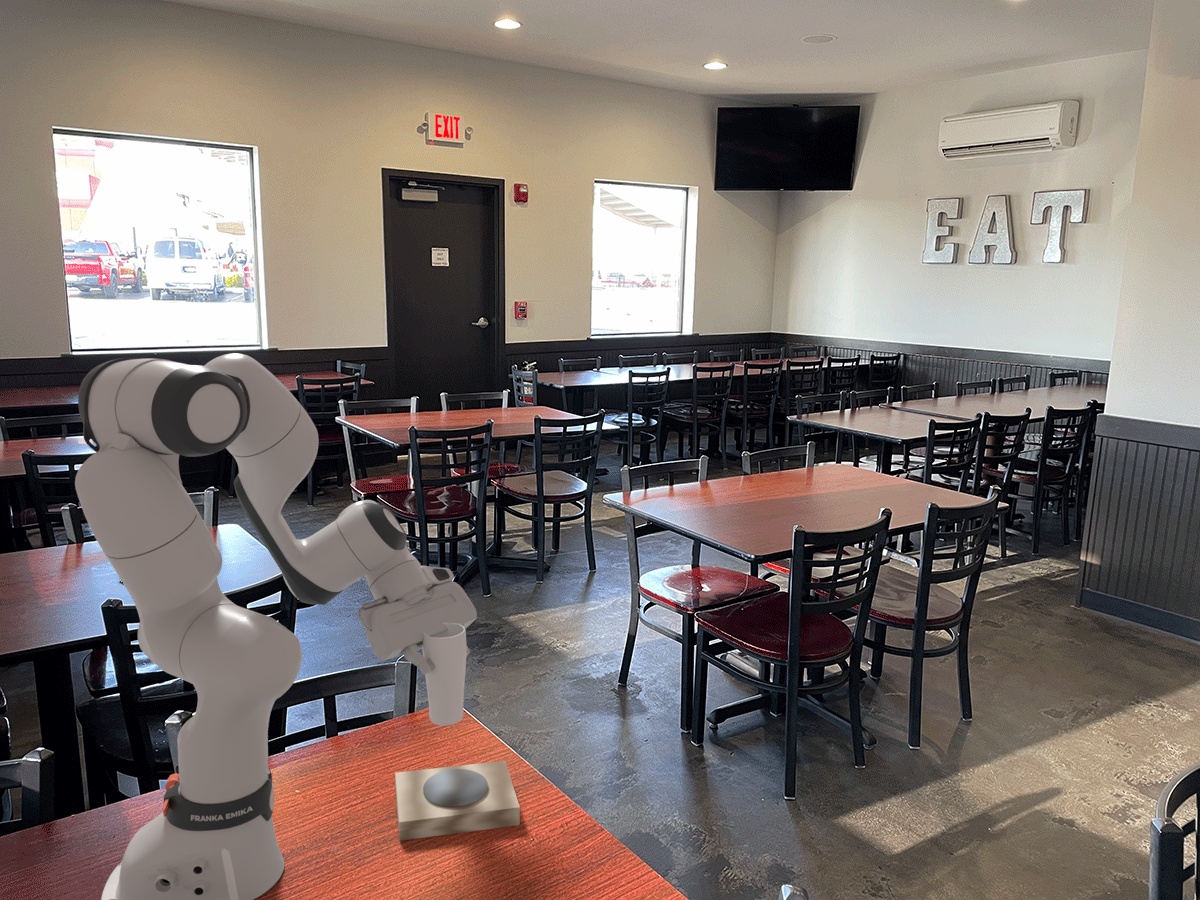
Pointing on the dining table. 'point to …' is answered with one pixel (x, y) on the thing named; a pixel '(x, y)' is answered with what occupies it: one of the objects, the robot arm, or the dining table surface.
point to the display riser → (455, 800)
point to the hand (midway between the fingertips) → (447, 663)
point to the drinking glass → (446, 674)
